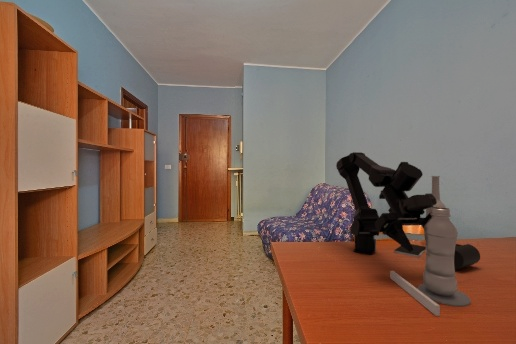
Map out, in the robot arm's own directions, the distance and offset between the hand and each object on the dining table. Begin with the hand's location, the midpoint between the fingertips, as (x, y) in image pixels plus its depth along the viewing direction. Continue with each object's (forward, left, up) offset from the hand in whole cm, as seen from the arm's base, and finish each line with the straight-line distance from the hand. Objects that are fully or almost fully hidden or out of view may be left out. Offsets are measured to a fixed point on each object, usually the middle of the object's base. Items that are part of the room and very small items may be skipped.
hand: (428, 250), depth 62 cm
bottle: (+3, +46, -9) cm, 47 cm away
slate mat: (+3, -3, -9) cm, 10 cm away
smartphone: (-5, +34, -10) cm, 35 cm away
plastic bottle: (+2, -3, -9) cm, 10 cm away
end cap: (+8, +22, -9) cm, 25 cm away
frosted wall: (-3, -7, -9) cm, 12 cm away
